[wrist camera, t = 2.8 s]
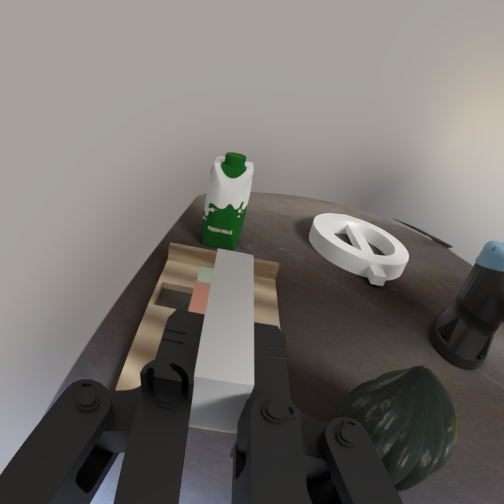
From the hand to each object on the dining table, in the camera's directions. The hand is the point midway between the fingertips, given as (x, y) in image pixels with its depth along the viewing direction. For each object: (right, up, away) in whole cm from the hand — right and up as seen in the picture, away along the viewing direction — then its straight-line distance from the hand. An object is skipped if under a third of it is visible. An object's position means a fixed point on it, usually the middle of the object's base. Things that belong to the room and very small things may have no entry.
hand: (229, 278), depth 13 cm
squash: (+15, -24, +16) cm, 33 cm away
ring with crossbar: (+29, +1, +68) cm, 74 cm away
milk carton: (-6, +4, +56) cm, 56 cm away
